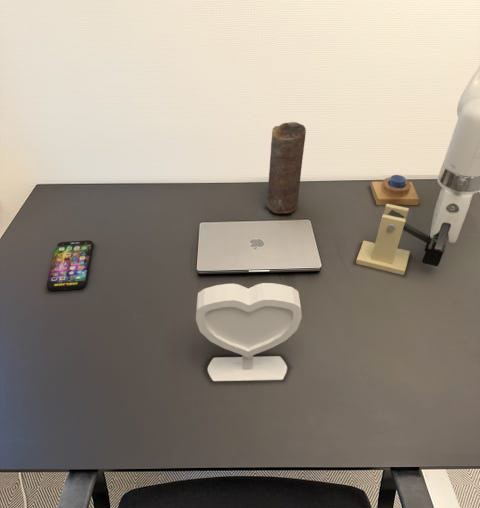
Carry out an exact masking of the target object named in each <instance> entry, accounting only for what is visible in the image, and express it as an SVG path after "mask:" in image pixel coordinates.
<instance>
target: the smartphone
mask: <svg viewBox="0 0 480 508" xmlns="http://www.w3.org/2000/svg"><path fill="white" fill-rule="evenodd" d="M93 249H94V243H93V241H92V240H71V241H61V242H59V243H57V245H56V247H55V251H54V255H53V257H52V258H53V259H52V262H51V265H50V269H49V274H48V277H47V281H46V288H47V290H48V291H51V292H56V291H69V290H82V289H83V288H85V287H86V285H87V282H88V278H89V272H90V271H89V270H90V267H91V266H90V265H91V260H92V254H93Z"/></svg>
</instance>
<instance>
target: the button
mask: <svg viewBox="0 0 480 508" xmlns="http://www.w3.org/2000/svg"><path fill="white" fill-rule="evenodd" d="M390 177H391V178H390V182H389V185H390V186H391V187H394V188H403V187H404V185H405V181H406V180H407V179H406V177H405V176H403V175H401V174H393V175H391V176H390Z"/></svg>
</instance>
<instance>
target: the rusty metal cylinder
mask: <svg viewBox="0 0 480 508" xmlns="http://www.w3.org/2000/svg"><path fill="white" fill-rule="evenodd" d="M306 129H307V128H306V127H305V125H304V124H302V123H299V122H296V121H289V122H283V123H281V124H279V125H275V126H273V128H272V130H271V141H270V157H269V170H268V171H269V172H268V184H267V195H266V207H267V208H268V209H269V210H270V211H271V212H272V213H273V214H278V215H280V214H290V213H291V214H292V213H293V212H295V210H296V209H297V208H298V202H299V195H300V186H301V175H302V167H303V159H304V150H305V142H306V133H307V130H306Z"/></svg>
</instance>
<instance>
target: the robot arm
mask: <svg viewBox="0 0 480 508" xmlns="http://www.w3.org/2000/svg"><path fill="white" fill-rule="evenodd" d="M456 115H457V120H456V124H455V126H454V129H453V133H452V135H451V138H450V141H449V143H448V147H447V150H446V153H445V156H444V159H443V161H442V164H441V168H440V171H439V174H438V177H437V183H438V186H440V187H441V188H440V191H439V195H438V198H437V201H436V204H435V208H434V211H433V215H432V221H431V226H430V232H429V235H428V236H430V237H431V238H432V239H431V242H430V244H427V243H425V247H424V254H423V257H422V259H421V263H422V264H424V265H429V266H432V267H439V265H440V263H441V260H442V257H443V256H444V254H445V253H444V252H445V249H446V248H445V245H446V246H447V243H450V244H455V243H457V241H458V238H459V235H460V233H461V231H462V228H463V225H464V222H465V219H466V217H467V214H468V212H469V209H470V205H471V203H472V199H473V197H474V195H475V194H478V193H479V192H480V65H479V66H478V68H477V69H476V71H475V72H474V74H473V75H472V76H471V78H470V80H469V81H468V83H467V85H466V86H465V87H464V90H463V91H462V93H461V96H460V97H459V100H458V103H457V107H456ZM435 239H437V242H434V240H435ZM444 248H445V249H444Z"/></svg>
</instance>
